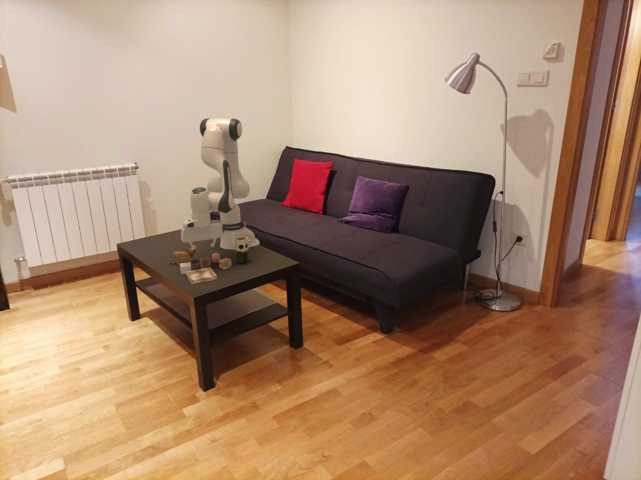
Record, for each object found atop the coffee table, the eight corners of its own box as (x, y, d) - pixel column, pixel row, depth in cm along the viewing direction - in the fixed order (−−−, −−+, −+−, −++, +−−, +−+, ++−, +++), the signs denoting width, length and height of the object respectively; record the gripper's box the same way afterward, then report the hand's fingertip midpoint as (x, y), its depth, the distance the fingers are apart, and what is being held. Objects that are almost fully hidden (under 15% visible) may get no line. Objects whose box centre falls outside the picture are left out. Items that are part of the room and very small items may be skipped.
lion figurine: (197, 259, 256) (195, 243, 253) (199, 262, 252) (197, 245, 249) (168, 263, 250) (166, 247, 247) (170, 267, 245) (168, 250, 242)
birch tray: (210, 271, 239) (210, 267, 239) (217, 279, 229) (216, 275, 229) (186, 275, 234) (185, 271, 234) (191, 284, 224) (191, 280, 224)
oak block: (226, 265, 248) (226, 257, 246) (231, 267, 244) (231, 260, 243) (219, 267, 245) (218, 259, 244) (223, 269, 242) (223, 262, 240)
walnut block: (209, 265, 247) (208, 256, 245) (211, 268, 243) (210, 259, 242) (200, 267, 245) (199, 257, 244) (202, 270, 241) (201, 260, 240)
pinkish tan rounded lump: (219, 259, 255) (218, 252, 253) (221, 262, 251) (220, 255, 250) (211, 261, 253) (210, 253, 252) (213, 263, 250) (212, 256, 248)
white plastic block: (191, 269, 242) (190, 262, 241) (191, 273, 237) (190, 265, 236) (180, 270, 241) (180, 263, 240) (180, 274, 236) (180, 266, 235)
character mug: (236, 266, 246) (234, 241, 241) (230, 262, 251) (228, 238, 247) (255, 261, 251) (253, 237, 247) (248, 257, 257) (247, 234, 253)
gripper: (220, 217, 243) (222, 243, 247) (179, 222, 235) (181, 249, 239) (224, 220, 238) (225, 247, 242) (181, 225, 229) (184, 253, 233)
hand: (203, 248), depth 240 cm, fingers open, 8 cm apart
